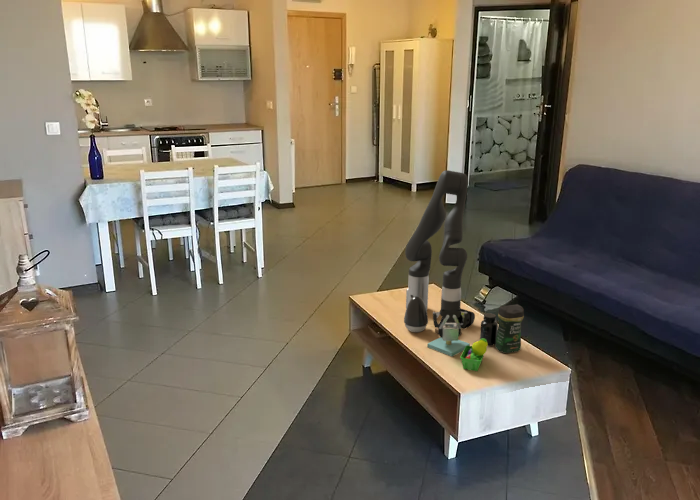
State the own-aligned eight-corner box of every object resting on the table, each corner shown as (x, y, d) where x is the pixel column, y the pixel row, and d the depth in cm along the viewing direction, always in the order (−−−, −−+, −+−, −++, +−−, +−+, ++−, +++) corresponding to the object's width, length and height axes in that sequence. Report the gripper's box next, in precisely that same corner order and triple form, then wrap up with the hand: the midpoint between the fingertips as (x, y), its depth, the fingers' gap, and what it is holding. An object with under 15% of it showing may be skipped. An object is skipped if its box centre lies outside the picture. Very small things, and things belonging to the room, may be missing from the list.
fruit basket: (465, 357, 225) (467, 330, 221) (488, 361, 221) (490, 333, 218) (459, 370, 214) (460, 341, 211) (483, 374, 211) (485, 346, 208)
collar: (440, 334, 234) (441, 322, 233) (455, 334, 234) (455, 322, 233) (442, 340, 229) (443, 329, 227) (458, 340, 229) (458, 328, 227)
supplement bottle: (485, 337, 242) (487, 310, 238) (500, 342, 237) (502, 315, 234) (476, 342, 237) (478, 315, 234) (490, 347, 232) (492, 320, 229)
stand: (434, 333, 246) (435, 317, 244) (445, 327, 251) (446, 312, 249) (450, 338, 240) (451, 323, 238) (461, 333, 246) (462, 317, 244)
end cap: (474, 324, 254) (475, 310, 252) (465, 329, 249) (466, 315, 248) (455, 318, 261) (456, 304, 259) (446, 323, 256) (447, 308, 254)
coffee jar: (503, 355, 226) (506, 311, 221) (491, 347, 233) (495, 303, 228) (524, 351, 229) (528, 307, 224) (512, 343, 236) (516, 300, 231)
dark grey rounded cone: (420, 323, 255) (421, 291, 251) (431, 332, 246) (433, 299, 242) (399, 326, 252) (400, 294, 248) (410, 336, 243) (411, 302, 238)
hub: (427, 347, 233) (427, 331, 231) (445, 338, 241) (445, 322, 239) (452, 356, 225) (453, 340, 223) (469, 347, 233) (470, 331, 231)
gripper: (467, 293, 230) (465, 332, 235) (431, 293, 230) (429, 332, 235) (471, 300, 223) (469, 340, 228) (434, 300, 223) (432, 340, 228)
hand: (449, 336), depth 231 cm, fingers closed on collar, 6 cm apart
